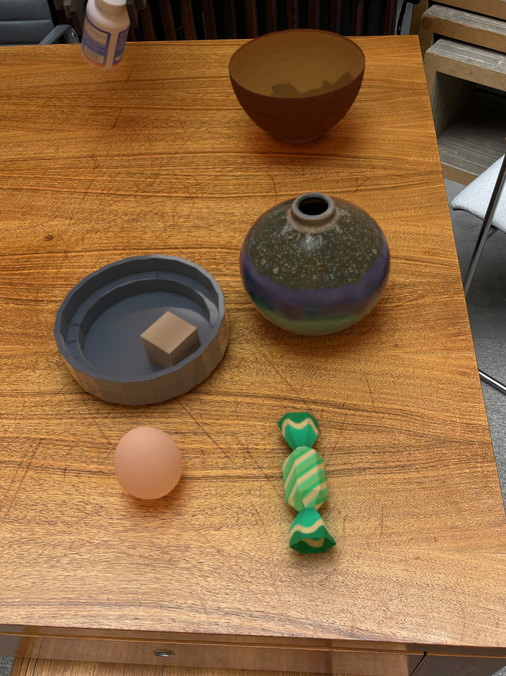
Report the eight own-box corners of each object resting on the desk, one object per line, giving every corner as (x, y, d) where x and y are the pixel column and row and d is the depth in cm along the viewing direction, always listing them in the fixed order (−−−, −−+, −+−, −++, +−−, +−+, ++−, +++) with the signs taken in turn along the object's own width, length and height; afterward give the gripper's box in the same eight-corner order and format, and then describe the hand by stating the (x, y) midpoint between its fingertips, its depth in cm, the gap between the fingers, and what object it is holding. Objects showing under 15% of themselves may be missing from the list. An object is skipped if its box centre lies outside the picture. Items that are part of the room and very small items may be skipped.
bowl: (380, 112, 92) (386, 41, 84) (329, 182, 83) (329, 110, 75) (273, 88, 97) (268, 20, 89) (213, 151, 88) (202, 81, 80)
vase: (379, 366, 64) (390, 269, 53) (231, 350, 66) (213, 254, 56) (391, 261, 73) (402, 160, 62) (260, 250, 75) (249, 151, 65)
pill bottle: (113, 39, 87) (125, -25, 79) (127, 71, 86) (141, 9, 78) (74, 40, 84) (82, -26, 76) (88, 72, 83) (98, 9, 75)
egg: (163, 443, 60) (145, 397, 54) (201, 482, 57) (187, 439, 51) (113, 482, 58) (88, 439, 52) (150, 525, 55) (128, 484, 49)
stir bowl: (34, 367, 67) (18, 339, 63) (136, 265, 75) (127, 236, 72) (165, 435, 61) (155, 409, 57) (260, 316, 69) (256, 286, 66)
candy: (270, 428, 59) (293, 405, 57) (301, 436, 61) (325, 414, 58) (281, 552, 52) (308, 533, 49) (316, 557, 54) (344, 539, 51)
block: (148, 360, 66) (139, 335, 62) (175, 336, 67) (167, 310, 64) (177, 378, 64) (169, 353, 61) (203, 353, 66) (197, 327, 62)
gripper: (180, -34, 92) (189, 42, 78) (50, -18, 91) (35, 61, 77) (170, -96, 86) (177, -25, 72) (30, -79, 85) (10, -5, 71)
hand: (104, 19), depth 75 cm, fingers closed on pill bottle, 6 cm apart
